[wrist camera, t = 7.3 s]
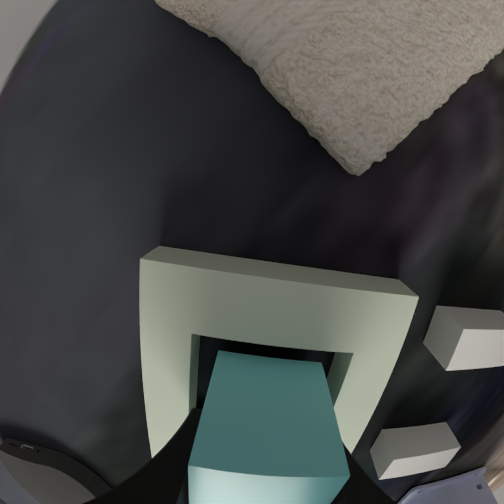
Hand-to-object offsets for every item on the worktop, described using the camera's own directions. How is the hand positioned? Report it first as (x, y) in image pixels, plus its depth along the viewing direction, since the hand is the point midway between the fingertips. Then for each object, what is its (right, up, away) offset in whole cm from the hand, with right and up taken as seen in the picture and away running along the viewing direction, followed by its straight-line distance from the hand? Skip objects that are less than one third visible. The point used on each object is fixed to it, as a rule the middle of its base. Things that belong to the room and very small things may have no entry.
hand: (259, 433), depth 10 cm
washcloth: (+6, +20, -1) cm, 21 cm away
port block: (0, +1, +3) cm, 3 cm away
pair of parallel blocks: (+10, -1, +3) cm, 10 cm away
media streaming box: (-18, -17, +9) cm, 27 cm away
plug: (0, +1, +2) cm, 2 cm away
